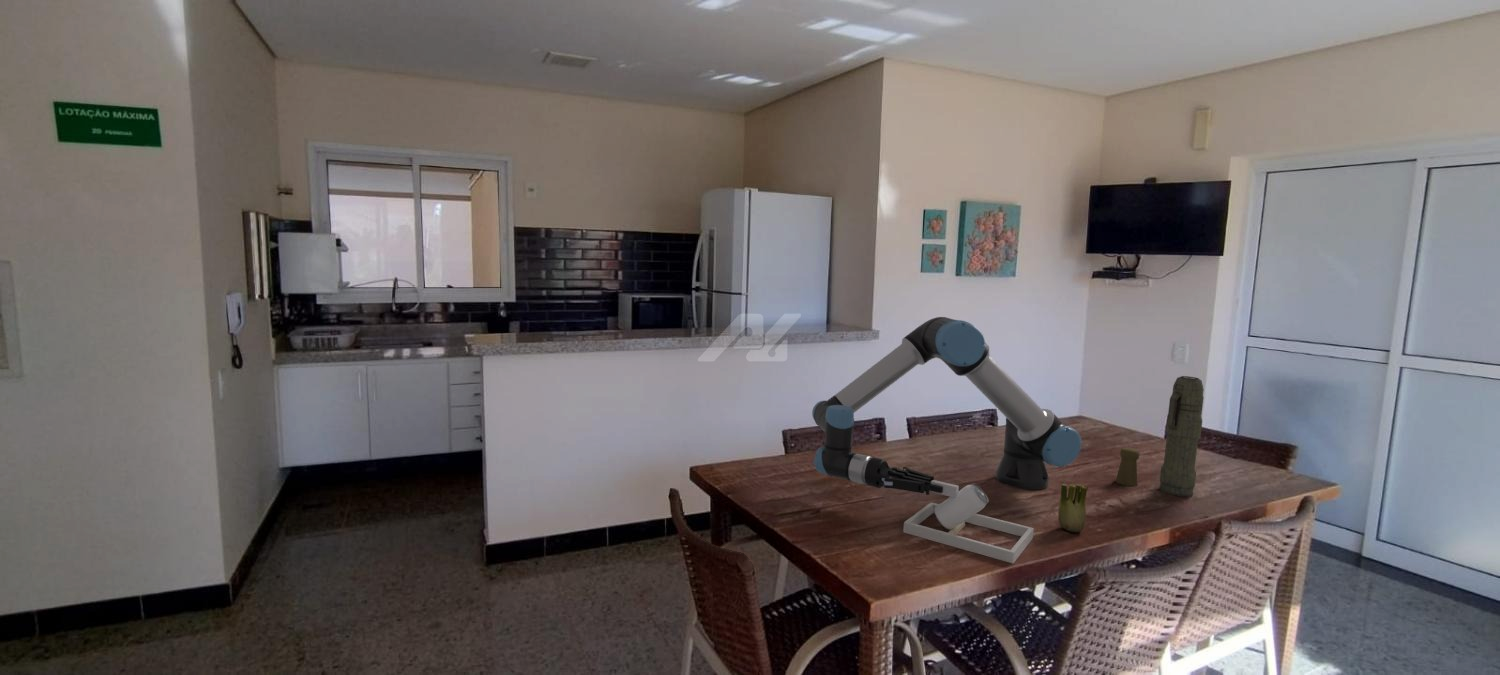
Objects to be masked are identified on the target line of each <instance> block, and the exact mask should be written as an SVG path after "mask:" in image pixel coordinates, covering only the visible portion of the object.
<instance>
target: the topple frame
mask: <svg viewBox="0 0 1500 675" xmlns="http://www.w3.org/2000/svg"><path fill="white" fill-rule="evenodd" d="M939 504H940V503H936V502H931V501H930V503H928V504H927V505H926V506H924V507H923V508H922V509H920V510H919V511H917V512H916V513H915V514H914V515H912V516H910V517H909V518H908V519H907V520H905V521H904V522H903V531H902V533H905V534H908V535H911V536H915V537H919V538H922V539H925V540H930V541H933V542H936V543H940V544H942V545H947V546H950V547H954V548H957V549H960V550H964V551H967V552H972V553H975V554H977V555H978V554H979V555H980V556H981V555H982V556H985V557H988V558H992V559H996V560H999V561H1002V562H1007V563H1009V564H1015V562H1016V560H1017V559H1018V558H1019V557H1020V555H1021V554H1022V553H1023V552H1024V550H1025V549H1026V548H1027V546H1028V545H1029V544H1030V542H1031V541H1033V539H1034V532H1035V530H1034V529H1035V528H1033V527H1031V526H1026V525H1023V524H1018V523H1014V522H1011V521H1007V520H1002V519H999V518H994V517H990V516H987V515H983V514H978V513H976V514H974V515H973V516H971V517H970V518H968V519H967V520H966V521H964V522H963V523H961V524H960V525H958V526H957V527H955V528H953V529H951V530H949V531H948V532H945V531H943V530H938V529H935V528H931V527H928V526H924V525H921V523H922V522H924V521H926V519H927V518H929V517H930V516H931V515H933V514H934V515H935V513H934V510H935V507H937V506H938V505H939ZM966 523H968V524H972V525H976V526H979V527H980V526H981V527H984V528H987V529H990V530H995V531H999V532H1003V533H1005V534H1006V533H1007V534H1011V535H1015V536H1017V537H1020V538H1019V539H1018V541H1016V543H1015V544H1014V545H1013V546H1012V548H1011V549H1008V548H1004V547H1001V546H998V545H993V544H989V543H986V542H982V541H979V540H975V539H971V538H968V537H964V536H960V535H957V534H959V532H960V531H961V530H962V529H964V528H965V527H966Z"/></svg>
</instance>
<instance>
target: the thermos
mask: <svg viewBox="0 0 1500 675" xmlns="http://www.w3.org/2000/svg"><path fill="white" fill-rule="evenodd" d="M1172 386H1173V387H1172V394H1171V396H1170V398H1169V404H1168V412H1167V416H1166V427H1165V434H1166V439H1165V440H1166V441H1165V449H1164V458H1163V459H1164V460H1163V463H1162V466H1161V468H1160V474H1159V487H1158V489H1159V490H1160V491H1161V492H1162V491H1163V493H1164V494H1167V493H1168V495H1171V494H1172V496H1175V495H1177V497H1182V496H1186V497H1185V498H1188V497H1189V498H1190V497H1193V496H1194V488H1195V486H1196V479H1197V473H1196V472H1197V471H1196V470H1195V469H1196V462H1197V461H1196V460H1197V451H1198V445H1199V440H1200V438H1201V435H1202V428H1203V427H1202V426H1203V418H1202V413H1203V404H1204V392H1205V391H1204V389H1205V388H1204V385H1203V381H1202V380H1201V379H1200V378H1199V377H1196V376H1195V377H1194V376H1187V375H1180V376H1178V377H1176V379H1175V381H1174V382H1173V385H1172ZM1192 495H1193V496H1192Z"/></svg>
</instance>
